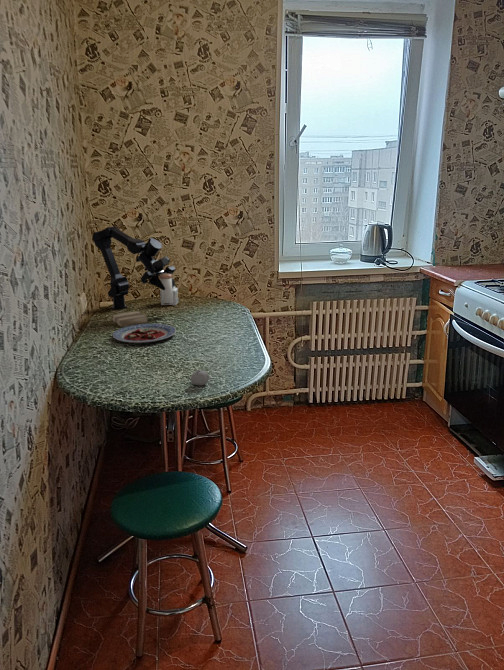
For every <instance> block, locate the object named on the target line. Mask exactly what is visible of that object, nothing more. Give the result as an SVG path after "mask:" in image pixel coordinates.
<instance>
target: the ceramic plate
mask: <svg viewBox="0 0 504 670" xmlns="http://www.w3.org/2000/svg"><path fill="white" fill-rule="evenodd" d="M176 332H177V329H176V328H175V327H174V326H171V325H170V324H169V325H168V324H164V323H163V324H162V323H142V324H136V325H130V326H125V327H121V328H119V329H117V330H115V331H114V332H113V333H112V337H113V338H114V339H115V340H117V341H120V342H123V343H132V344H147V343H153V342H154V343H155V342H158V341H161V340H165V339H168V338H171V337H172V336H174V335H175V334H176Z"/></svg>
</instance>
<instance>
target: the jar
mask: <svg viewBox="0 0 504 670" xmlns="http://www.w3.org/2000/svg"><path fill="white" fill-rule="evenodd" d="M172 275H173V274H169V273H165V274H160V276H159V279H160V281H161V282H162V284H163V285H164V287H165V290H162V289H160V291H161V296H162V303H172V302H173V291H172V279H173V277H172ZM161 296H160V297H161Z"/></svg>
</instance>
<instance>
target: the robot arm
mask: <svg viewBox="0 0 504 670" xmlns="http://www.w3.org/2000/svg"><path fill="white" fill-rule="evenodd" d="M91 238H92V241H93V243H94V246H95V247H97V249H98V250H99V251H101V255H102V258H103V261H104V263H105V265H106V268H107V271H108V273H109V275H110V282H109V285H110V289H109V290H108V292H107V295H108V298H112V305H111V309H113V310H122V309H127V308H128V306H127V305H126V301H125V300H126V299H125V296H126V295H127V296H128V295H129V291H130V290H129V289H130V282H129V281H128V277H127V276H123V275H122V274H121V272H120V268H119V267H118V263H117V260H116V257H115V255H114V253H113V249H112V248H111V247H112V246H111V245H112V239H114V240H116V241H118V242H119V243H121V244H122V245H124V246H125V247H126V248H127V251H129V252H130V253H131V254H132V255H137V254H139V255H137V256H136V259H135V261H136V263H140V262H141V264H142V266H144V271H145V272H144V273H143V274H142V275H141V277H140V282H141V284H143V285H144V284H149V285H151V286H155V287H156V288H159V289H160V290H161V289H162V290H165V287H164V285H163V284H162V282H161V281H160V274H165V273H169V274H172V275H173V274H174V272H175V271H176V268H175V266H174V265H170V263H171V260H170V258H169V257H168V256H163V257H162V258H160V259H155V258H154V257H156V256H157V255H158V253H159V251H160V250H161V249H162V248H163V247H162V246H163V245H162V243H161V242H160V241H159V240H157V239H154V238H153V237H150V238H148V240H147V242H146V241H144V240H143V239H139V238H134V237H131V235H128V234H126V233H125V232H123V231H122V230H120V229H119V228H118V227H116V226H108V227H106V228H104V229H101V230H99V231H94V232H93V234H92V236H91ZM167 265H169V266H167ZM165 266H166V267H165ZM173 287H174V286H173V283H172V288H173Z"/></svg>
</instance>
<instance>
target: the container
mask: <svg viewBox="0 0 504 670" xmlns="http://www.w3.org/2000/svg"><path fill="white" fill-rule="evenodd" d="M172 283H173V286H174V287H173V288H172V291H173V302H172V303H162V296H161V290H160V291H159V292H160V293H159V294H160V295H159V296H160V305H173V306H177V305H178V304H179V293H178V292H179V291H178V287H176V281H175V278H174V279H173V278H172Z"/></svg>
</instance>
